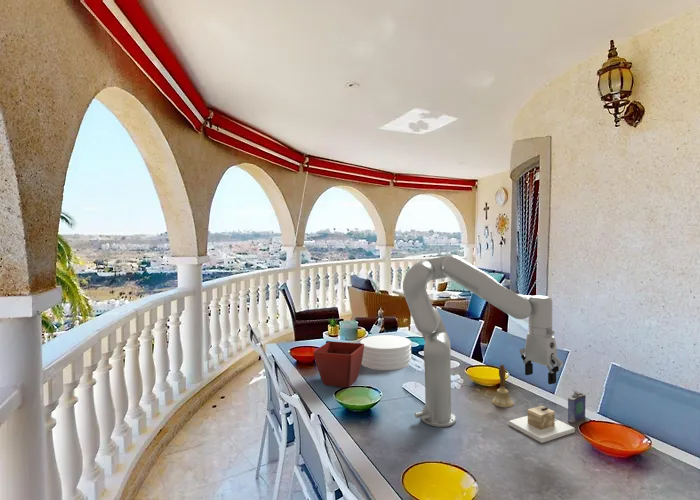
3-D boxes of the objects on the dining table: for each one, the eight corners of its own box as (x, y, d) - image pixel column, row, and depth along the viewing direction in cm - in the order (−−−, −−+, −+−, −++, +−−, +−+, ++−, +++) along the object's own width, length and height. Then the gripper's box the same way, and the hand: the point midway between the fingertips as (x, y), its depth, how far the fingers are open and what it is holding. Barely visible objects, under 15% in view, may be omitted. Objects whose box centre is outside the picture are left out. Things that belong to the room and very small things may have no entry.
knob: (540, 429, 137) (540, 413, 136) (527, 423, 142) (527, 407, 141) (554, 425, 140) (554, 409, 139) (541, 419, 144) (541, 403, 144)
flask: (573, 424, 143) (572, 395, 143) (565, 421, 146) (564, 392, 145) (587, 417, 148) (587, 389, 147) (579, 415, 150) (579, 387, 150)
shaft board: (541, 442, 131) (541, 428, 131) (509, 424, 144) (508, 411, 144) (574, 432, 137) (574, 417, 137) (540, 415, 150) (540, 402, 150)
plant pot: (313, 386, 185) (312, 351, 185) (330, 373, 203) (329, 340, 202) (351, 391, 178) (350, 354, 177) (365, 377, 196) (365, 343, 195)
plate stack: (377, 351, 239) (377, 333, 239) (420, 359, 223) (419, 339, 222) (350, 364, 217) (350, 343, 216) (395, 374, 200) (394, 351, 200)
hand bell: (515, 408, 157) (515, 368, 157) (493, 406, 159) (493, 367, 159) (511, 399, 166) (511, 361, 165) (490, 398, 167) (490, 361, 167)
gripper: (570, 335, 133) (569, 385, 134) (528, 324, 149) (527, 369, 149) (554, 337, 130) (554, 389, 131) (513, 327, 146) (513, 373, 146)
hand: (540, 378), depth 140 cm, fingers open, 9 cm apart
